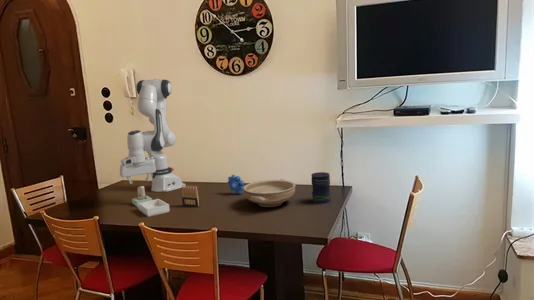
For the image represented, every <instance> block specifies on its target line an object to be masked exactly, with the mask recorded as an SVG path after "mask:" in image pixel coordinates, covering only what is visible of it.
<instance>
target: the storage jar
mask: <svg viewBox="0 0 534 300" xmlns="http://www.w3.org/2000/svg"><path fill="white" fill-rule="evenodd" d="M330 185H331V177H330V172H324V171H323V172H314V173H311V186H312V192H311V194H312V203H314V204H317V205H325V204H329V203H330V202H331V201H332V200H331V198H332V197H331V194H332V193H331V188H330V187H331V186H330Z"/></svg>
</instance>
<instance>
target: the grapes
mask: <svg viewBox="0 0 534 300" xmlns="http://www.w3.org/2000/svg"><path fill="white" fill-rule="evenodd" d="M241 179H242V178H241V177H240V176H239V175H237V176H236V175H235V174H231V176H228V178H227V180H228V181H227V185H228V186H229V190H230V191H232V192H233V193H234V194H235V195H238V194H240V195H241V194H244V190H243V187H244V186H245V185H244V184H245V181H243V180H241Z"/></svg>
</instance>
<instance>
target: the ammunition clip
mask: <svg viewBox="0 0 534 300" xmlns="http://www.w3.org/2000/svg"><path fill="white" fill-rule="evenodd" d="M181 191H182V192H181V194H182V196H181V200H182V201H181V202H182V207H190V208H191V207H192V208H199V207H201V202H200V197H199V192H198V186H197V185H195V186H194V185H185V187H184V186H183V185H182V188H181Z"/></svg>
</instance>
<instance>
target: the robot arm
mask: <svg viewBox="0 0 534 300" xmlns="http://www.w3.org/2000/svg"><path fill="white" fill-rule="evenodd" d="M135 88H136V92H137V94H138V100H137V110H138V112H139V113H140V114H141V115H142V116H145V117H146V118H148V121H149V123H150V124H152V125H153V129H154V130H146V131H141V130H138V129H137V130H131V131H129V132H128V133H127V136H126V137H127V138H126V139H127V140H126V142H127V149H128V156H127V157H124V158H122V159H121V160H120V165H119V176H120V177H122V178H126V179H127V180H128V181H129V183H128V184H130V185H132V184H134V182H133V180H131V177H135V176H141V175H147V176H146V177H145V182H150V177H151V179H152V181H151V190H150V191H151V192H157V193H158V192H160V193H161V192H164V193H165V192H171V191H174V190H179V189H182V185H183V186H184V188H185V185H186V183H185V182H183V181H182V178H181V176H179V175H178V174H176V173H174V170H175V167H170V166H169V159H168V158H169V157H168V154H166V153H164V152H163V151H162V150H163V149H164V148H169V147H173V146H174V145H175V144H176V141H177V137H176V134H175V133H174V131H172V130H171V129H170V127H169V125H168V121H167V120H168V119H167V110H168V109H167V107H168V106H167V98H168V97H169V96H170V95H171V94H172V83H171V81H170V80H168V79H159V78H158V79H157V78H155V79H154V78H153V79H145V80H144V79H141V80H139V81H138V82H137V84H136V87H135ZM145 152H146V153H147V155H148V157H146V156H145V155H146V153H145ZM186 186H187V185H186Z"/></svg>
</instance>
